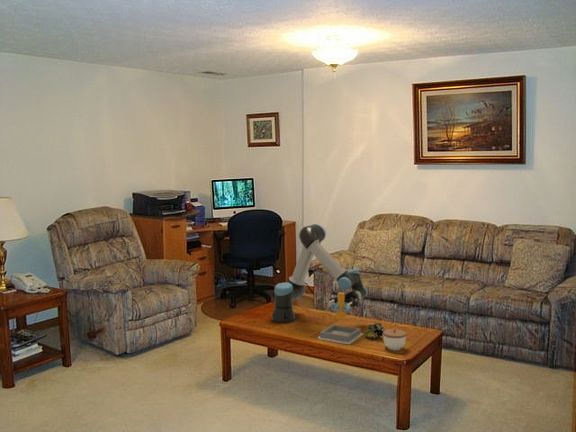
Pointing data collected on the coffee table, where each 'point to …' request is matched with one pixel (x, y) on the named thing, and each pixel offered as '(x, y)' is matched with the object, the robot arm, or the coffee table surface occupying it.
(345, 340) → the holder tray
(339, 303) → the orange tube
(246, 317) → the coffee table surface
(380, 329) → the passion flower
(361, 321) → the coffee table surface
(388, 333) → the lidded bowl
